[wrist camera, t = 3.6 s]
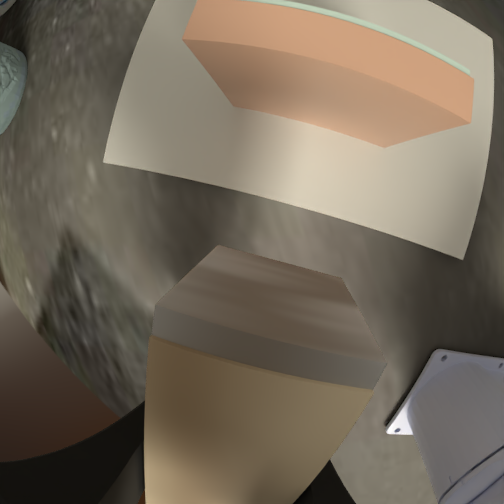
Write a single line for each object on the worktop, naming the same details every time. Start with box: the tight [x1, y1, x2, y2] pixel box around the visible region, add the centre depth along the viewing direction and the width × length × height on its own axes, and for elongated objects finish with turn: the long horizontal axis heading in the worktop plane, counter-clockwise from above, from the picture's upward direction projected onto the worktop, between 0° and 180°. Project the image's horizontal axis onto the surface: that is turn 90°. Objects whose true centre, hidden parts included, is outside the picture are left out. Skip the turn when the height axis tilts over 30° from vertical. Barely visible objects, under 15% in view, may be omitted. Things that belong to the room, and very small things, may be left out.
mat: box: [103, 0, 494, 260], centre depth 13 cm, size 22×16×1 cm
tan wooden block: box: [144, 245, 387, 504], centre depth 8 cm, size 4×11×5 cm, turn 166°
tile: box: [182, 0, 474, 148], centre depth 9 cm, size 8×2×8 cm, turn 76°
